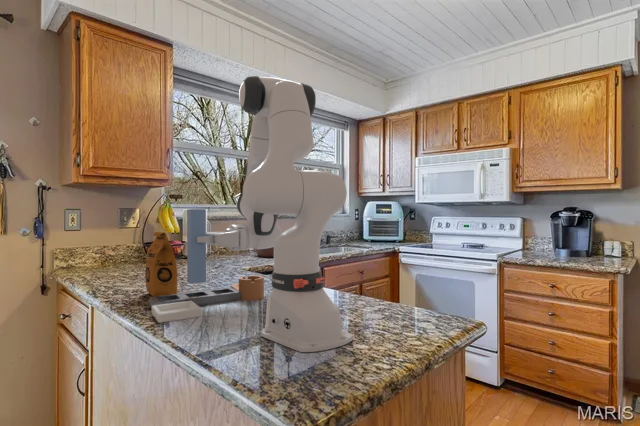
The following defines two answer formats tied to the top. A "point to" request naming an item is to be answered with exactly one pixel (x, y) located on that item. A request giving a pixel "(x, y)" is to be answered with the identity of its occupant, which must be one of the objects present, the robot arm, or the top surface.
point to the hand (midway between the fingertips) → (193, 239)
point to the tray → (176, 311)
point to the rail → (199, 297)
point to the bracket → (250, 287)
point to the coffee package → (161, 267)
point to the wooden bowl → (265, 252)
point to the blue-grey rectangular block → (196, 246)
